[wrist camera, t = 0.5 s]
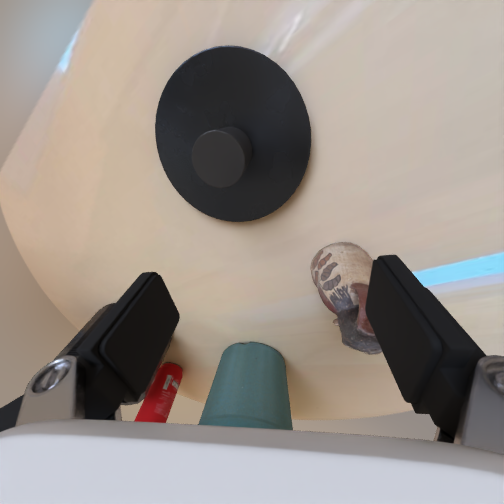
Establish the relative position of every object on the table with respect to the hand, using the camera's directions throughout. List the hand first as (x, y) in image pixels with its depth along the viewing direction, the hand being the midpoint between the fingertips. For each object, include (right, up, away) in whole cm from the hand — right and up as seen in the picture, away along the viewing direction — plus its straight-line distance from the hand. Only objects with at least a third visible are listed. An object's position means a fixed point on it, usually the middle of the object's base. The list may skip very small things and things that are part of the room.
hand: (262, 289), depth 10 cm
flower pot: (0, -19, +31) cm, 37 cm away
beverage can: (-17, -23, +36) cm, 46 cm away
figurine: (+11, 0, +18) cm, 21 cm away
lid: (-2, +12, +11) cm, 16 cm away
